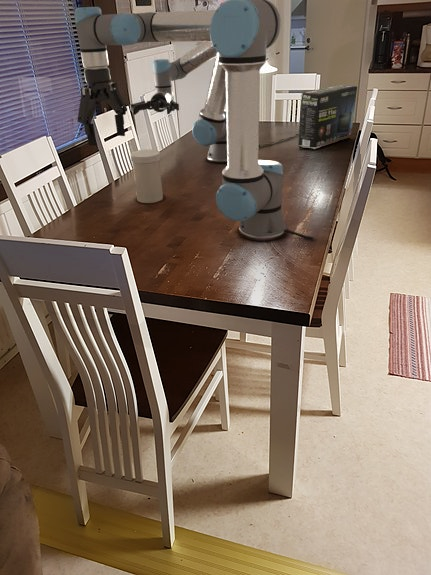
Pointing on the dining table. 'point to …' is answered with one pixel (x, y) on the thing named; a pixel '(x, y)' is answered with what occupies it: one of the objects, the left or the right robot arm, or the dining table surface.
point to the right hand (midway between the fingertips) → (107, 140)
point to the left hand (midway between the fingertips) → (150, 111)
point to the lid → (145, 156)
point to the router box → (326, 115)
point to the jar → (148, 182)
